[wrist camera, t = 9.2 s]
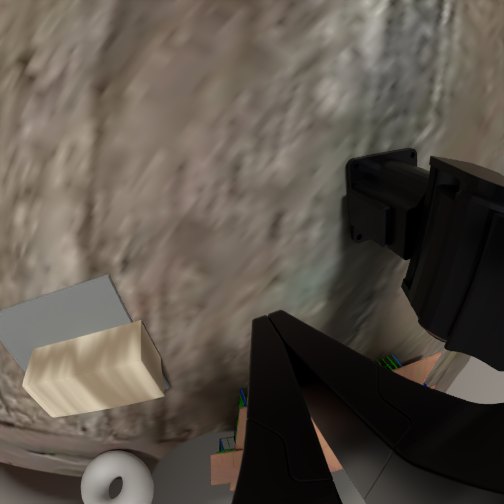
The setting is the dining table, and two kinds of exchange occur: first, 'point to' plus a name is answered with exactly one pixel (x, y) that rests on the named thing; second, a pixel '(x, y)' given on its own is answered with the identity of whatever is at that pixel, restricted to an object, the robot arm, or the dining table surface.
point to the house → (229, 461)
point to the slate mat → (62, 318)
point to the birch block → (95, 371)
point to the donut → (108, 468)
